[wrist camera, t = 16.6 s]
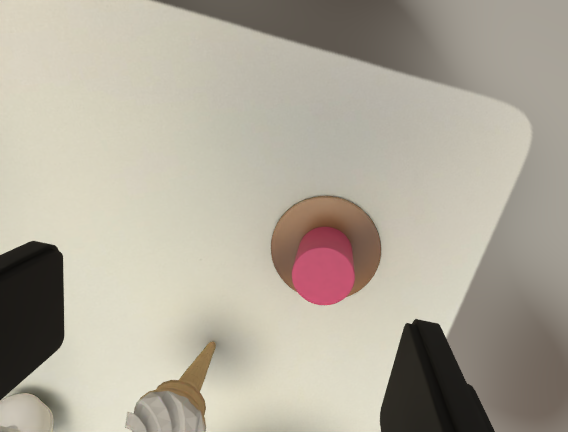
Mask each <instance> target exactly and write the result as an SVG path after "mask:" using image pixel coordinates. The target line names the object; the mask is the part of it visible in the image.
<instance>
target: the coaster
mask: <svg viewBox="0 0 568 432" xmlns="http://www.w3.org/2000/svg"><path fill="white" fill-rule="evenodd" d="M318 227H331V228H335V229H337V230H339V231H341V232H342V233H343V234H344V235H345V236H346V237H347V238H348V239H349V241H350V243H351V246H352V253H353V263H354V272H355V281H354V285H353V288H352V290H351V291H350V293H349V294H348V295H347V296H346V297H348V296H350V295H352V294H354V293H356V292H358V291H359V290H361V289H362V288H363V287H364V286H365V285H366V284H367V283H368V282H369V281H370V280H371V279H372V277H373V276H374V274H375V272H376V270H377V268H378V265H379V262H380V256H381V243H380V238H379V234H378V231H377V229H376V227H375V225H374V223H373V221H372V220H371V219H370V217H369V216H368V215H367V214H366V213H365V212H364V211H363V210H362V209H361V208H359V207H358V206H357V205H355V204H353V203H352V202H350V201H347V200H345V199H342V198H338V197H332V196H318V197H312V198H308V199H305V200H303V201H301V202H299V203H297V204H295V205H294V206H292V207H291V208H290V209H288V210H287V211H286V212H285V213H284V214H283V216H282V217H281V218H280V220H279V222H278V223H277V225H276V227H275V230H274V232H273V236H272V240H271V255H272V260H273V263H274V266H275V268H276V270H277V272H278V274H279V275H280V277H281V278H282V279H283V281H284V282H285V283H286V284H287V285H288V286H289V287H290V288H292V289H293V290H295V291H296V292H297V290H296V289H295V287H294V285H293V282H292V269H293V265H294V262H295V258H296V255H297V251H298V248H299V244H300V242H301V240H302V238H303V237H304V236H305V235H306V234H307V233H308V232H309V231H311V230H313V229H315V228H318Z"/></svg>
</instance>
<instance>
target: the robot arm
mask: <svg viewBox="0 0 568 432" xmlns="http://www.w3.org/2000/svg"><path fill="white" fill-rule="evenodd" d="M63 340H64V287H63V255H62V253H61V252H59V250H58V248H57V247H56V246H55V245H51V244H46V243H41V242H36V241H31V242H28V243H26V244H24V245H22V246H20V247H17V248H15V249H13V250H11V251H8V252H6V253H4V254H2V255H0V400H1V399H2V398H3V397H5V396H6V395H7V394H8V393H9V392H10V391H11V390H12V389H14V388H15V387H16V386H17V385H18V384H19V383H20V382H22V381H23V380H24V379H25V378H26V377H27V376H28V375H30V374H31V373H32V372H33V371H34V370H35V369H36V368H38V367H39V366H40V365H41V364H42V363H43V362H44V361H45V360H47V359H48V358H49V357H50V356H51V355H52V354H53V353H55V352H56V351H57V350H58V349H59V348H60V346H61V345H62V342H63ZM380 426H381V432H495V431H494V429H493V427H492V425H491V423H490V421H489V419H488V416H487V414H486V412H485V410H484V408H483V406H482V404H481V402H480V400H479V398H478V396H477V394H476V391H475V390H474V389H473V387H472V386H471V385H469V384H467V383H466V381H465V379H464V376H463V374H462V372H461V370H460V368H459V366H458V363H457V361H456V359H455V357H454V355H453V353H452V350H451V348H450V346H449V344H448V342H447V340H446V337H445V335H444V333H443V331H442V329H441V327H440V325H439V324H437V323H432V322H427V321H423V320H418V319H415V320H414V321H413V323H412V324H409V323H406V324H405V326H404V329H403V333H402V336H401V340H400V343H399V347H398V350H397V354H396V357H395V361H394V364H393V368H392V371H391V375H390V378H389V382H388V385H387V389H386V393H385V396H384V400H383V403H382V407H381V412H380ZM0 432H24V431H20V430H16V429H11V428H7V427H3V426H0Z"/></svg>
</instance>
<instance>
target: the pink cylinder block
mask: <svg viewBox="0 0 568 432" xmlns="http://www.w3.org/2000/svg"><path fill="white" fill-rule="evenodd" d="M354 281H355V272H354V263H353V253H352V246H351V243H350V241H349V239H348V238H347V237H346V236H345V235H344V234H343V233H342V232H341V231H339V230H337V229H335V228H331V227H318V228H315V229H313V230H311V231H309V232H308V233H307V234H306V235H305V236H304V237H303V238H302V240H301V242H300V244H299V248H298V251H297V255H296V258H295V262H294V265H293V269H292V282H293V285H294V287H295V289H296V290H297V292H298V293H299V294H300V295H301V296H302V297H303V298H304V299H305V300H307V301H309V302H311V303H314V304H318V305H331V304H335V303H337V302H339V301H341V300H343V299H344V298H345V297H346V296H347V295H348V294H349V293H350V291H351V290H352V288H353V285H354Z"/></svg>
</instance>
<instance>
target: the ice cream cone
mask: <svg viewBox="0 0 568 432" xmlns="http://www.w3.org/2000/svg"><path fill="white" fill-rule="evenodd" d="M215 346H216V344H215V342H213V341H212V342H210V343H209V344H208V345H207V346H206V347H205V348H204V350H203V351H202V352H201V353H200V354H199V356H198V357H197V358H196V359H195V361H194V362H193V363H192V364H191V365H190V366H189V368H188V369H187V370H186V371H185V373H184V374H183V375H182V377H181V378H180V379H179V380H170V381H167V382H163V383H162V384H161V385H159V386H158V387H157V389H156V390H153V391H150V392H148V393H146V394H145V395H144V396H142V397H141V398H140V400H139V401H138V402H137V403H136V406H135V409H134V414H133V413H130V412H127V418H126V425H125V428H128V429H130V430H132V432H205V431H206V424H205V418H204V415H205V410H206V406H205V401H204V399H203V397H202V395H201V393H200V390H201V387H202V384H203V382H204V379H205V376H206V373H207V370H208V367H209V365H210V361H211V358H212V355H213V353H214V350H215Z"/></svg>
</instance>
